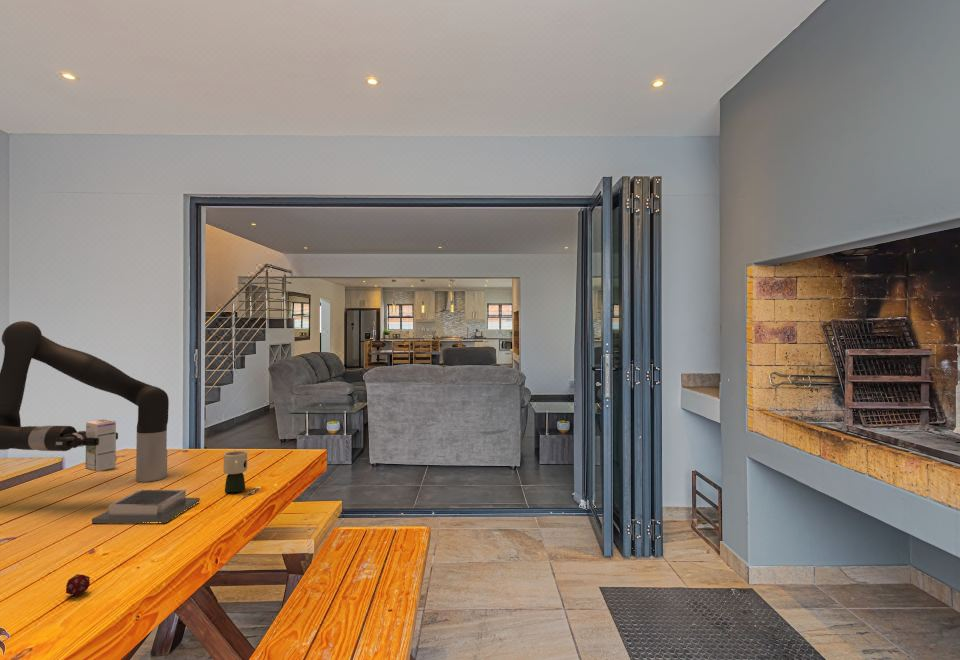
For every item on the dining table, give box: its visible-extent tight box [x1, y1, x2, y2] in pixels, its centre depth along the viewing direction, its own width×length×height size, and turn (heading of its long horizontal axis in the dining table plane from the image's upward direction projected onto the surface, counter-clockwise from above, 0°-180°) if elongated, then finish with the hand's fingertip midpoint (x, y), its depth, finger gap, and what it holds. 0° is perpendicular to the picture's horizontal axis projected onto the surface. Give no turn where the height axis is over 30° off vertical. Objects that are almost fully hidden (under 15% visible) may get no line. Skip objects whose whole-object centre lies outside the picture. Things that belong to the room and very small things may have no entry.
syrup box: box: [85, 418, 117, 472], centre depth 153 cm, size 6×6×14 cm
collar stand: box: [91, 489, 201, 524], centre depth 149 cm, size 18×20×4 cm
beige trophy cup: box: [223, 450, 248, 493], centre depth 169 cm, size 11×7×13 cm, turn 30°
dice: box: [65, 573, 91, 597], centre depth 102 cm, size 4×4×4 cm
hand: (107, 438), depth 153 cm, fingers closed on syrup box, 7 cm apart
